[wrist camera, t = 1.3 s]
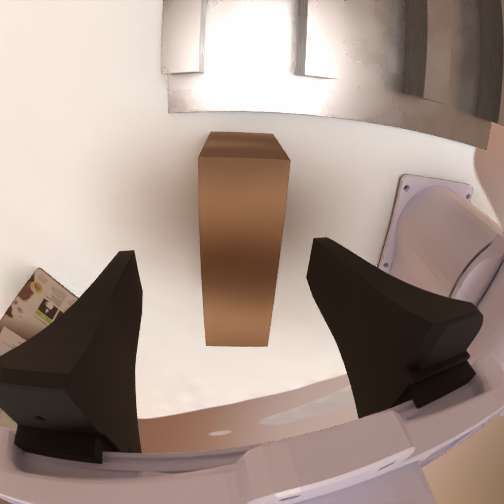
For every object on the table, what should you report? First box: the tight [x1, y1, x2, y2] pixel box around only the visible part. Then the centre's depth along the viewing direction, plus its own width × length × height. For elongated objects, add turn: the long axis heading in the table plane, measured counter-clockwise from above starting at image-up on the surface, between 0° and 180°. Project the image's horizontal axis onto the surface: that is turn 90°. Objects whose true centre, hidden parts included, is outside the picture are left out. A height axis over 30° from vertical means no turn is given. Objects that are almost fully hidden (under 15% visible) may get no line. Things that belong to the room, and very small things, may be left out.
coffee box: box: [0, 268, 78, 432], centre depth 19 cm, size 9×6×16 cm
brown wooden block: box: [198, 132, 290, 347], centre depth 19 cm, size 12×4×7 cm, turn 177°
